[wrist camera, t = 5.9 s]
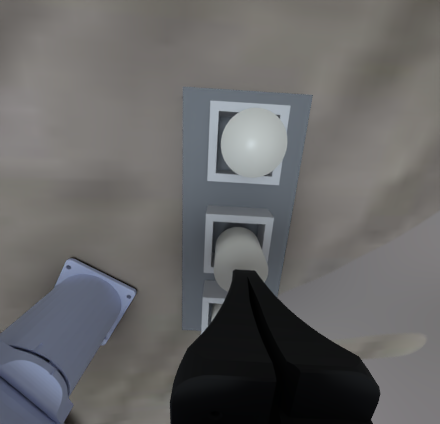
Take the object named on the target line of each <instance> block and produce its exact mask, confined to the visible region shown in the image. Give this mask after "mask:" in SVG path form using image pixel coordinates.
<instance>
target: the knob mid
mask: <svg viewBox="0 0 440 424" xmlns="http://www.w3.org/2000/svg"><path fill="white" fill-rule="evenodd" d="M235 269H238V270H255V271H256V272H257V274H258V275H259V276H260V278H261V279H262V280H263V282H265V281H266V279H267V276H268V265H267V262H266V259H265V257H264V254H263V251H262V249H261V246H260V244H259V241H258V239H257V237H256V235H255V234H254V233H253V232H252V231H250V230H249V229H246V228H243V227H232V228H229V229H227V230H225V231H224V232H222V233H221V234H220V235H219V237H218V239H217V241H216V246H215V261H214V276H215V279H216V281H217V283H218V284H219V286H220V287H221V288H223V289H224V290H226V291H227V292H228V291H229V288H230V285H231V282H232V274H233V270H235Z"/></svg>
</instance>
